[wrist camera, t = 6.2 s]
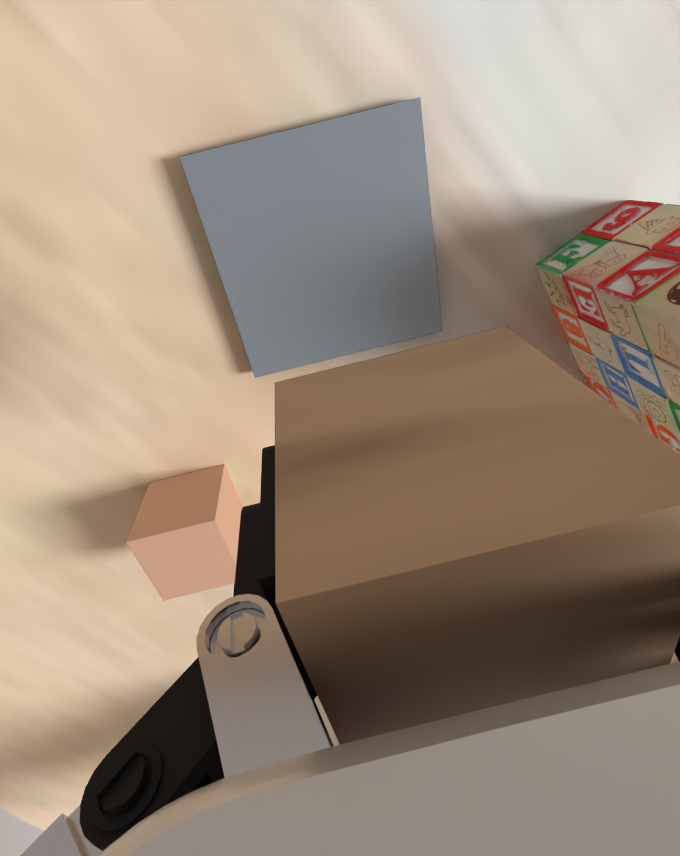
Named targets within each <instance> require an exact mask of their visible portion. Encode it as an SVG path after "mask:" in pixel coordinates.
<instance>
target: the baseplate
mask: <svg viewBox="0 0 680 856" xmlns="http://www.w3.org/2000/svg"><path fill="white" fill-rule="evenodd" d="M180 160H181V163H182V166H183V169H184V172H185V175H186V178H187V181H188V184H189V186H190V189H191V192H192V195H193V198H194V201H195V204H196V207H197V210H198V213H199V216H200V219H201V222H202V224H203V227H204V230H205V233H206V236H207V239H208V242H209V245H210V248H211V251H212V254H213V257H214V260H215V262H216V265H217V268H218V271H219V274H220V277H221V280H222V283H223V286H224V289H225V292H226V295H227V297H228V300H229V303H230V306H231V309H232V312H233V315H234V318H235V321H236V324H237V327H238V330H239V333H240V335H241V338H242V341H243V344H244V347H245V350H246V353H247V356H248V359H249V362H250V365H251V368H252V370H253V373H254V376H255V378H256V377H260V376H264V375H268V374H272V373H276V372H280V371H284V370H288V369H292V368H296V367H300V366H304V365H308V364H312V363H316V362H320V361H324V360H328V359H332V358H336V357H340V356H344V355H348V354H352V353H356V352H360V351H364V350H368V349H372V348H376V347H380V346H384V345H388V344H392V343H396V342H400V341H404V340H408V339H412V338H416V337H420V336H424V335H428V334H432V333H436V332H440V331H442V323H441V312H440V301H439V291H438V280H437V270H436V259H435V249H434V238H433V228H432V217H431V207H430V196H429V186H428V175H427V165H426V154H425V143H424V133H423V122H422V112H421V101H420V97H419V98H415V99H411V100H407V101H403V102H399V103H395V104H391V105H387V106H383V107H379V108H375V109H371V110H367V111H363V112H359V113H355V114H351V115H347V116H343V117H339V118H335V119H331V120H327V121H323V122H319V123H315V124H311V125H307V126H303V127H299V128H295V129H290V130H286V131H282V132H278V133H274V134H270V135H266V136H262V137H258V138H254V139H250V140H246V141H242V142H238V143H234V144H230V145H226V146H222V147H218V148H214V149H210V150H206V151H202V152H198V153H194V154H190V155H186V156H182V157H180Z"/></svg>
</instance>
